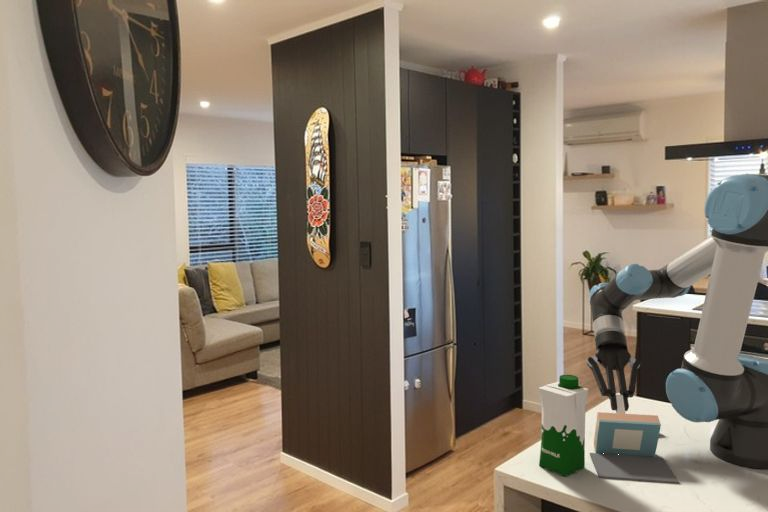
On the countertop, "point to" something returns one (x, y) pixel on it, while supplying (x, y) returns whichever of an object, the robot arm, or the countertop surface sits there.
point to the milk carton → (563, 426)
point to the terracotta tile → (626, 434)
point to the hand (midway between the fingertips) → (622, 422)
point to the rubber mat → (633, 468)
